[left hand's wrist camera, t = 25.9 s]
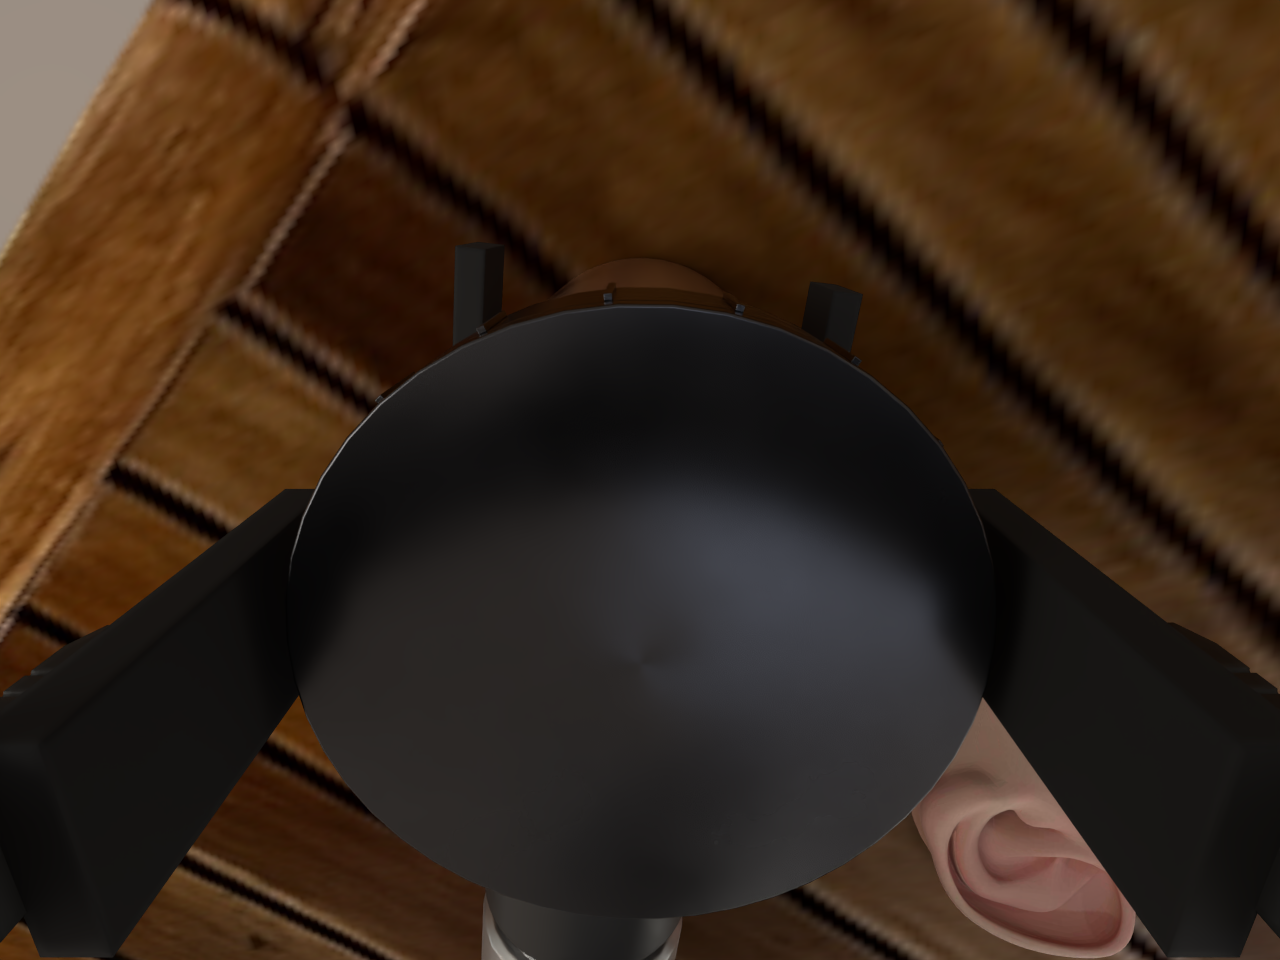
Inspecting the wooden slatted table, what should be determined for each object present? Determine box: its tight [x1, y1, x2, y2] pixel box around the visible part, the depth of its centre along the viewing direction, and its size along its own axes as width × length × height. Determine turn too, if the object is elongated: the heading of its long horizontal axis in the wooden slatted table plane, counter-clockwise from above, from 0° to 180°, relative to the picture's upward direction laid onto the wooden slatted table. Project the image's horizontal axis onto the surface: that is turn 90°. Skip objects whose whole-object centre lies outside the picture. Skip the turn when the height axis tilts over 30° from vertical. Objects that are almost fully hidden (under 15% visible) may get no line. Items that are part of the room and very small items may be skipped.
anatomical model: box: [911, 698, 1136, 958], centre depth 32 cm, size 13×4×12 cm
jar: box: [548, 258, 724, 301], centre depth 19 cm, size 9×9×17 cm
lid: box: [285, 282, 997, 919], centre depth 11 cm, size 10×10×2 cm
